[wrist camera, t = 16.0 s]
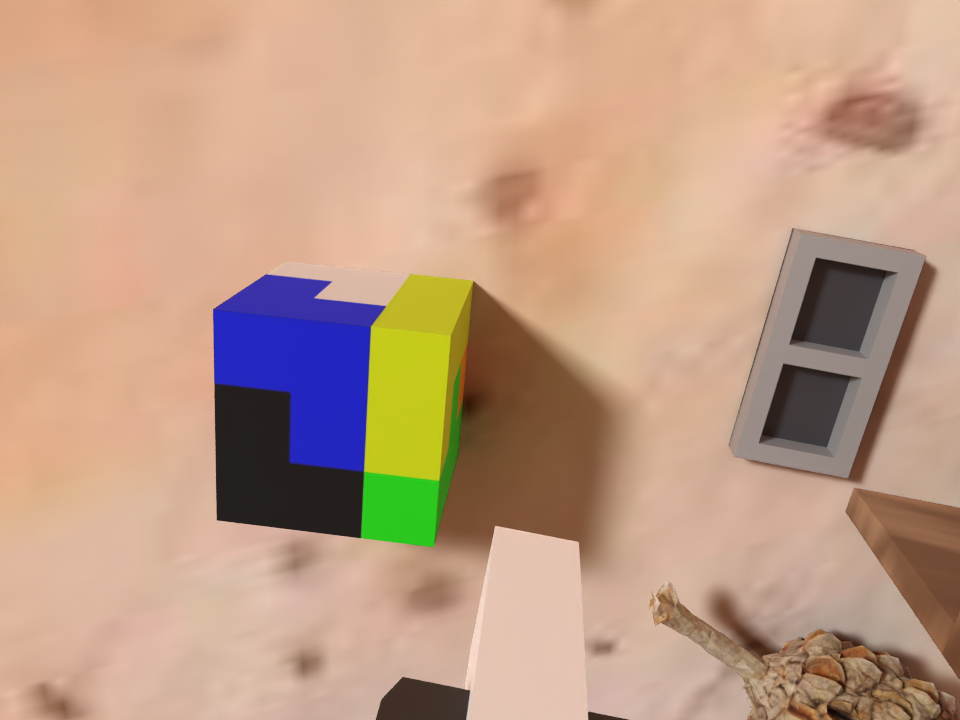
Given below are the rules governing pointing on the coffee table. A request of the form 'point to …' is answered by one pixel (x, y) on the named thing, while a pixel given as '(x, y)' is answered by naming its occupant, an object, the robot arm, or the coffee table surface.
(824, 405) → the tray
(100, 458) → the coffee table surface
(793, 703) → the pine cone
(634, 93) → the coffee table surface
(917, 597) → the tunnel
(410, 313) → the puzzle toy
